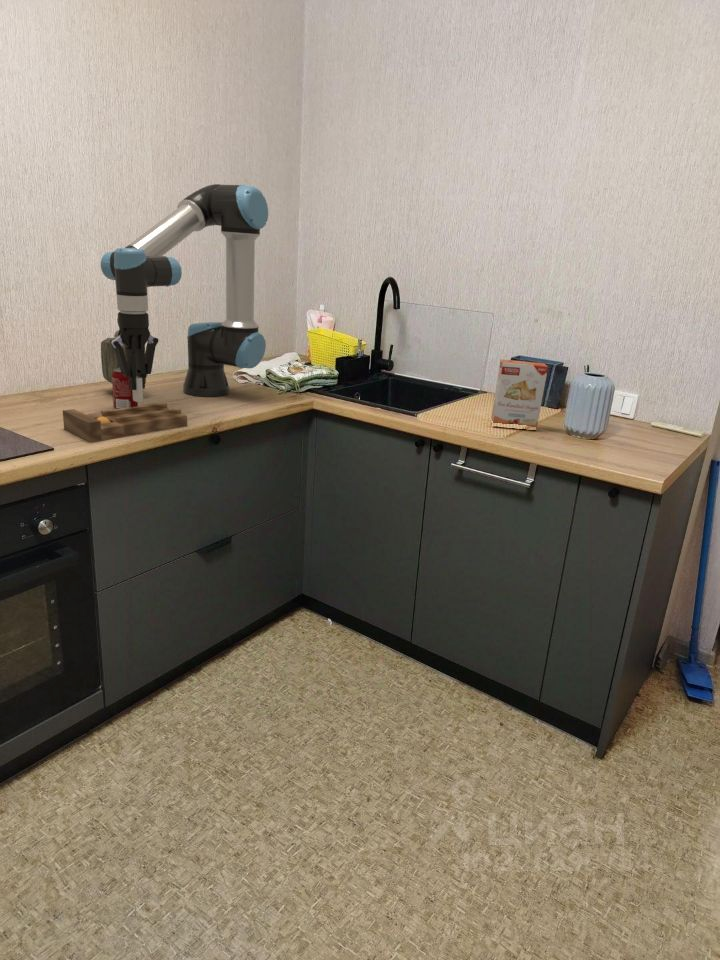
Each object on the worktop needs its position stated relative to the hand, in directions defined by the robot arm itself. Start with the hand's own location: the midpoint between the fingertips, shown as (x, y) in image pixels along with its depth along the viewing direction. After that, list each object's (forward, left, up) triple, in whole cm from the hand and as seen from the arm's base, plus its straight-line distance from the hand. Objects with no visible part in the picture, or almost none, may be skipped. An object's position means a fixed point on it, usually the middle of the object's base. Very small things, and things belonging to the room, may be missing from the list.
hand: (138, 400), depth 176 cm
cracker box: (-94, +63, -7) cm, 113 cm away
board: (+4, +1, -7) cm, 8 cm away
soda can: (-5, -16, -7) cm, 19 cm away
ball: (+11, +1, -5) cm, 12 cm away
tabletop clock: (-14, -33, -7) cm, 37 cm away
